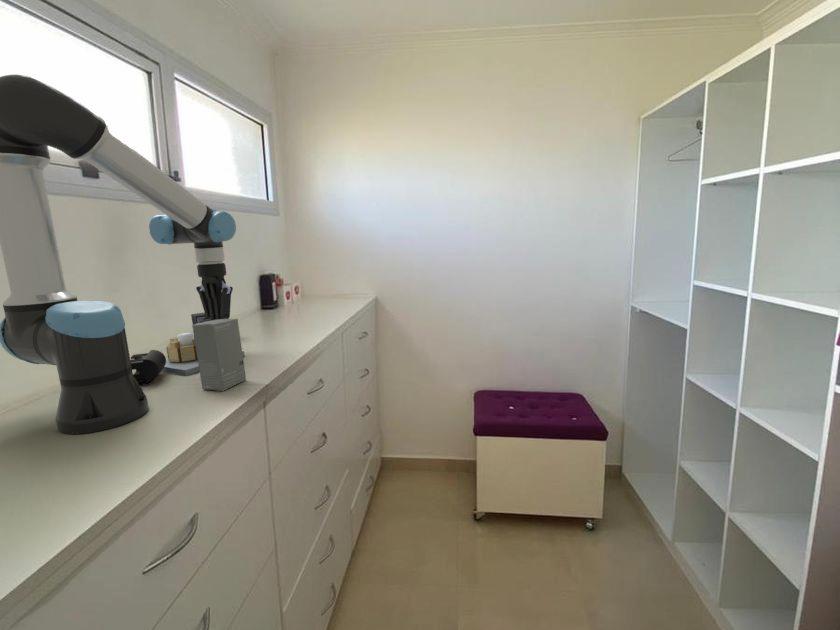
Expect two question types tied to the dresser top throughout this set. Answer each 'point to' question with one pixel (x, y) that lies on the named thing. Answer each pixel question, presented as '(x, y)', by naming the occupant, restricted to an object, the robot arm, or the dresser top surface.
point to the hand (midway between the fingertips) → (220, 341)
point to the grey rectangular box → (219, 353)
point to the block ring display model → (186, 366)
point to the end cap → (147, 366)
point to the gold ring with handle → (181, 351)
